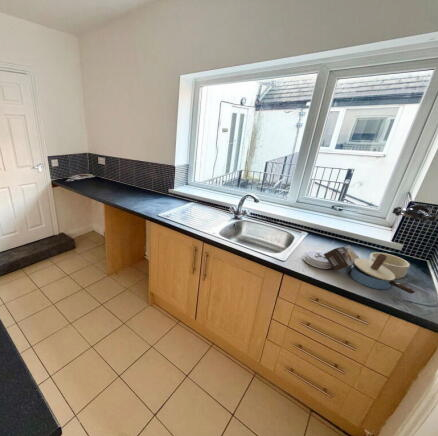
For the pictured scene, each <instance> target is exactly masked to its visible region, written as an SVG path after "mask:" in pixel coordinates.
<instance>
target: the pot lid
mask: <svg viewBox="0 0 438 436" xmlns="http://www.w3.org/2000/svg"><path fill="white" fill-rule="evenodd" d="M386 258H387V256H385V255H383V254H379V255H378V256H377V257H376V259H375V260H374V262H373V261H370V260H369V259H366V258H361V257H359V258H357V259H355V260H354V264H355V265H356V266H357V267H358V268H359V269H361V270H362V271H364V272H365V273H367V274H369V275H371V276H374V277H376V278H379V279H382V280H388V281H392V280H393V281H395V280H396V279H395V275H394V274H393V273H392V272H391V271H390V270H389V269H387V268H386V267H384V266H382V264H383V262H384V261H385V260H386Z"/></svg>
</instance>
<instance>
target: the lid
mask: <svg viewBox="0 0 438 436" xmlns="http://www.w3.org/2000/svg"><path fill="white" fill-rule="evenodd" d="M325 253H326V252H323V251H320V250H313V249H311V250H306V251H305V252H304V256H303V258H302V259H303V261H304V262H305V263H306V264H308V265H310V266H312V267H314V268H317V269H323V270H328V269H329V270H330V269H333V267H332V266H331V264H330V263H329V261H328V260H327V259H326V257H325V256H324V254H325Z"/></svg>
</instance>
